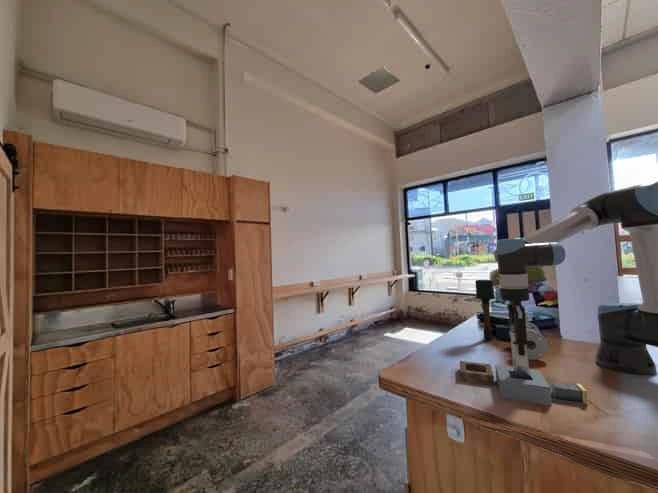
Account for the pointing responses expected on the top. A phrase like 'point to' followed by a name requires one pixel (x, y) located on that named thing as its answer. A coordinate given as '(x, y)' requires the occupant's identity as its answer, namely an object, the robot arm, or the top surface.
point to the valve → (535, 342)
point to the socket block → (525, 387)
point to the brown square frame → (476, 372)
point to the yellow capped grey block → (569, 392)
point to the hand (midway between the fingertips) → (520, 362)
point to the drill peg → (519, 371)
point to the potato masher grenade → (485, 303)
